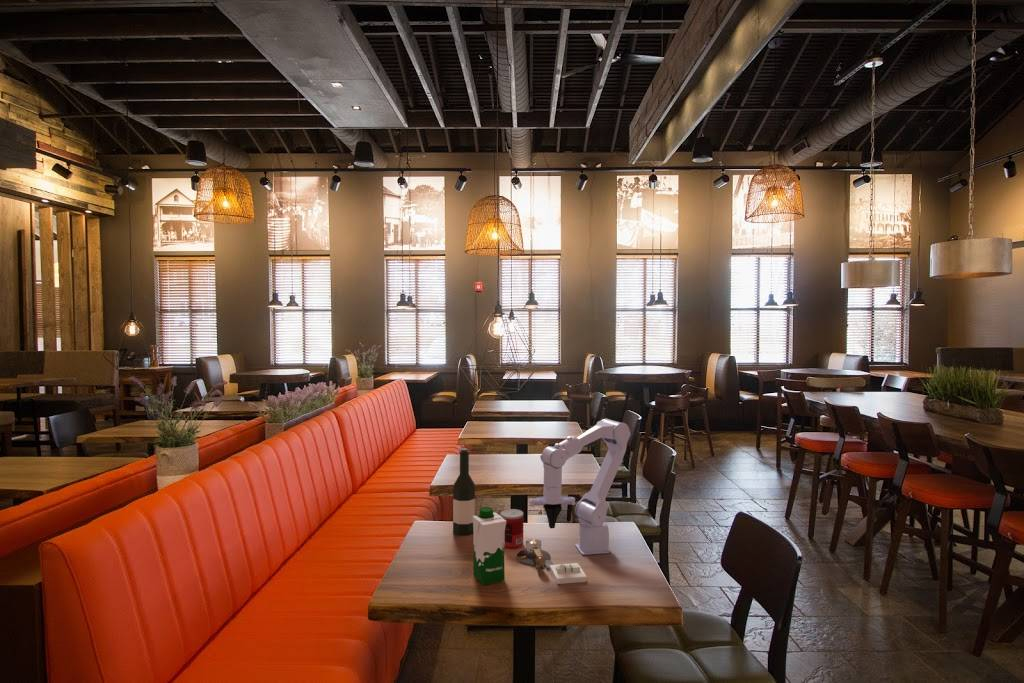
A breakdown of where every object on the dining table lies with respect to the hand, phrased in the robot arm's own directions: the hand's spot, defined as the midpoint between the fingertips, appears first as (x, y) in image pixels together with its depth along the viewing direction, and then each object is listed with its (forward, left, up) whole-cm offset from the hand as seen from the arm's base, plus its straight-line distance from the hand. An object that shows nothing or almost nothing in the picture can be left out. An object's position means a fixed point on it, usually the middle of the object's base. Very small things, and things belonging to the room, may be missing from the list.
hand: (551, 527), depth 175 cm
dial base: (+5, 0, -11) cm, 12 cm away
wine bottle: (+25, -27, -11) cm, 39 cm away
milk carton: (+21, +9, -11) cm, 26 cm away
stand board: (-2, +11, -11) cm, 16 cm away
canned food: (+10, -13, -11) cm, 20 cm away
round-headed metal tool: (+5, +2, -10) cm, 11 cm away
